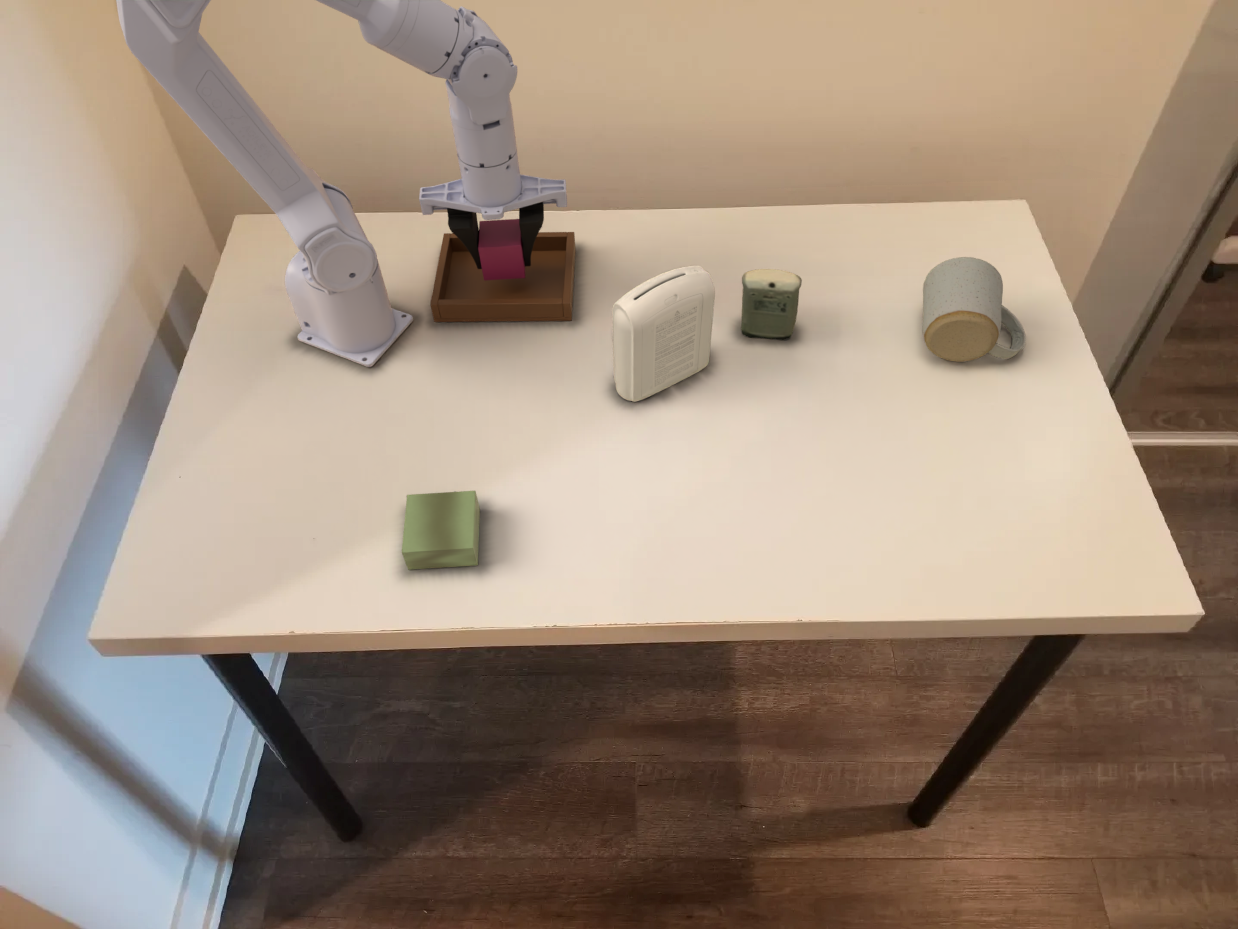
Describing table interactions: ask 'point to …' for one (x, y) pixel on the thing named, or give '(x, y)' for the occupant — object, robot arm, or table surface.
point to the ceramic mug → (967, 311)
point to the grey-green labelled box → (769, 303)
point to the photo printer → (662, 331)
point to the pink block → (501, 249)
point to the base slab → (441, 530)
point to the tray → (506, 284)
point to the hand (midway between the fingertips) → (503, 261)
